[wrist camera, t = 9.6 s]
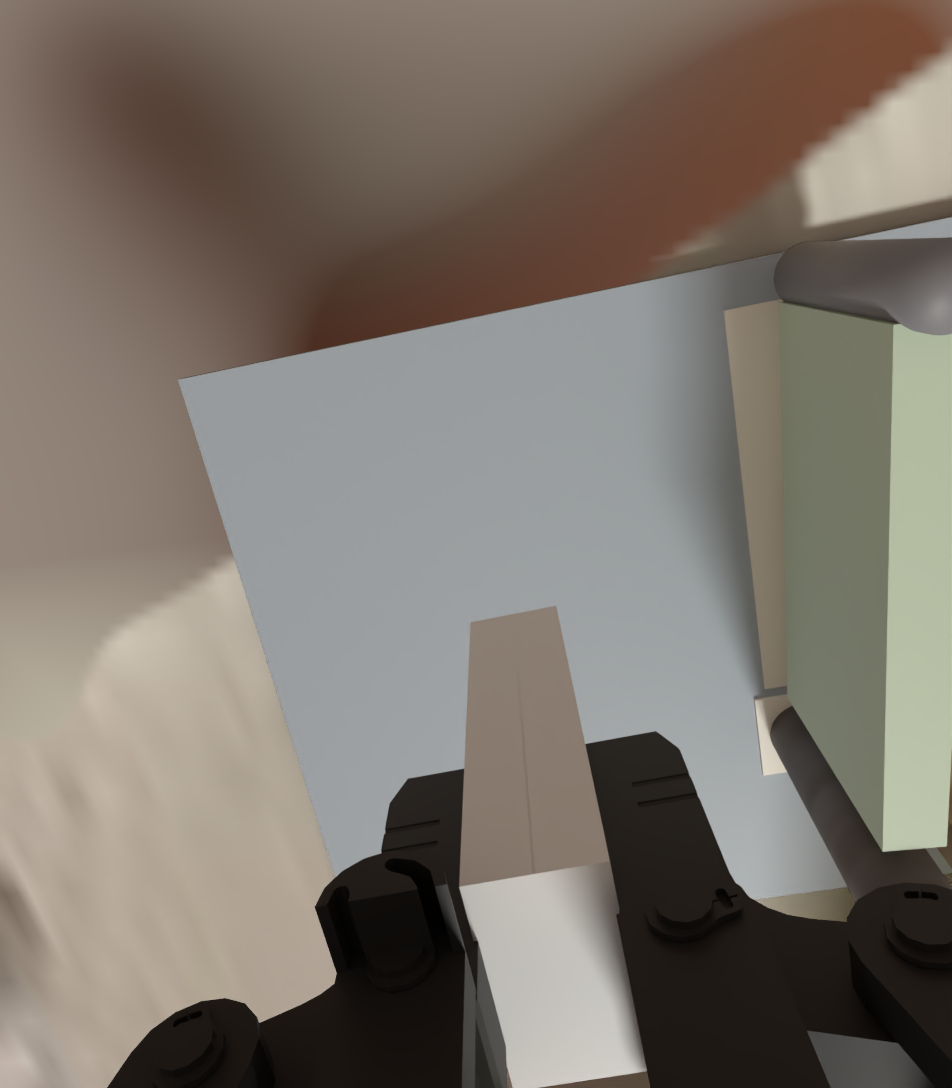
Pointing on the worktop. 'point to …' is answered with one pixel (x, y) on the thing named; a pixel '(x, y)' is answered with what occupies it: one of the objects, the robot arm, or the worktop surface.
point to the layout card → (529, 541)
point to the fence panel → (871, 521)
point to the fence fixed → (849, 818)
